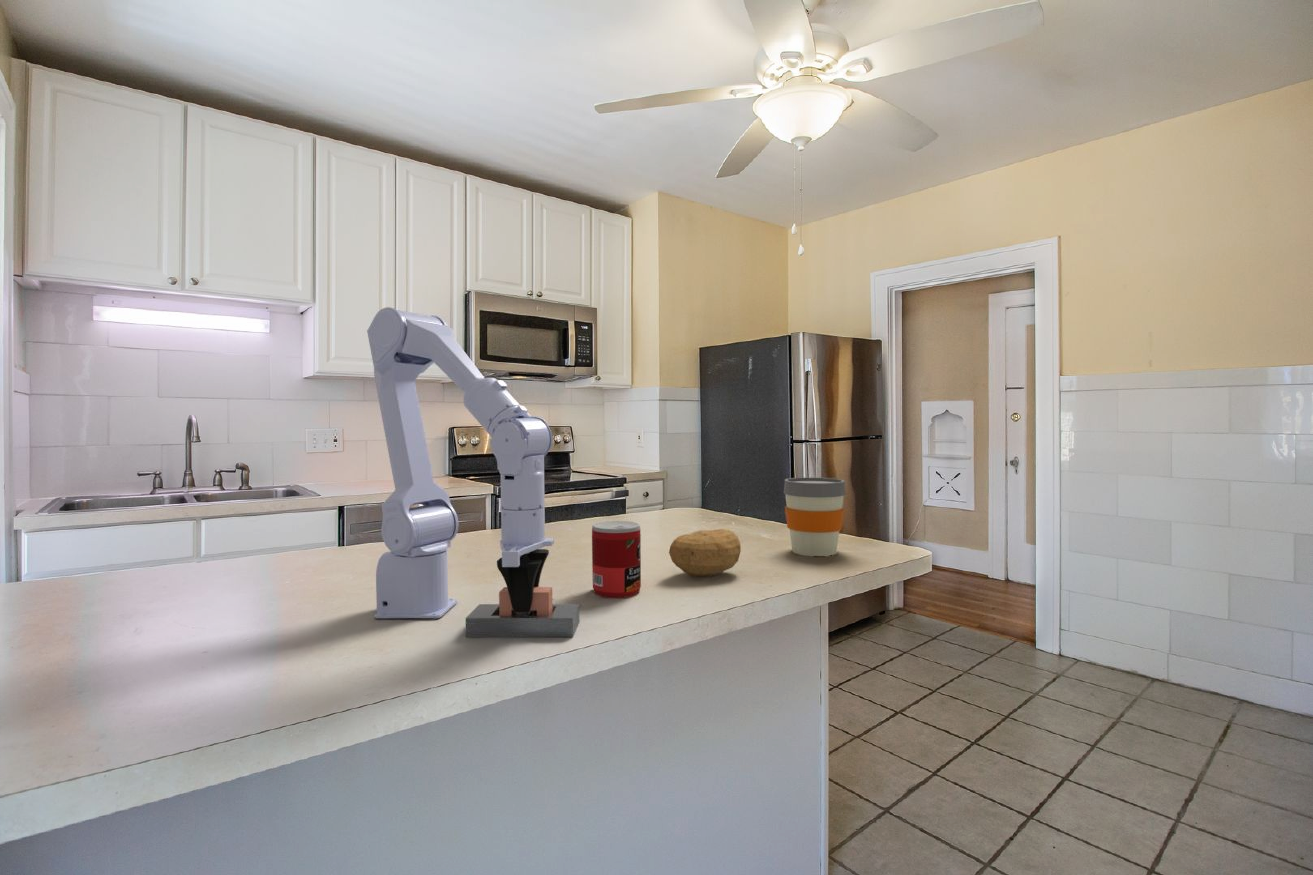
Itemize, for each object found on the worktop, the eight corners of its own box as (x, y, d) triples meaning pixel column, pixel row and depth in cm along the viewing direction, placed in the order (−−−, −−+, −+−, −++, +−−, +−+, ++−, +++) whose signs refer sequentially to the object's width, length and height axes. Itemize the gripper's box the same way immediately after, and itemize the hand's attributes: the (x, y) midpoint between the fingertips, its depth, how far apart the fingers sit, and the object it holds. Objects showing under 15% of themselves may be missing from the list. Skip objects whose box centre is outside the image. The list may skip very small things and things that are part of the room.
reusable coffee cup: (858, 553, 128) (858, 481, 127) (815, 561, 121) (815, 485, 121) (813, 543, 139) (813, 476, 138) (771, 550, 132) (771, 479, 131)
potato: (657, 574, 112) (657, 530, 112) (721, 565, 119) (721, 523, 119) (685, 587, 104) (685, 540, 103) (753, 576, 110) (753, 531, 110)
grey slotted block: (465, 637, 81) (465, 618, 81) (479, 621, 87) (479, 604, 87) (573, 637, 81) (572, 617, 81) (579, 621, 87) (579, 603, 87)
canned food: (635, 599, 97) (634, 529, 97) (586, 596, 99) (585, 528, 98) (645, 586, 105) (645, 521, 104) (600, 584, 106) (599, 520, 106)
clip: (499, 632, 83) (499, 592, 82) (504, 626, 85) (504, 587, 85) (549, 632, 82) (548, 592, 82) (552, 625, 85) (552, 586, 85)
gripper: (541, 515, 76) (543, 625, 76) (561, 499, 90) (563, 592, 91) (484, 516, 76) (486, 625, 77) (513, 500, 91) (515, 592, 91)
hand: (524, 607), depth 84 cm, fingers closed on clip, 2 cm apart
